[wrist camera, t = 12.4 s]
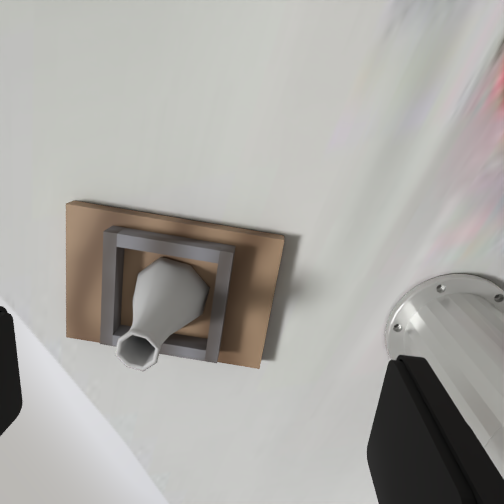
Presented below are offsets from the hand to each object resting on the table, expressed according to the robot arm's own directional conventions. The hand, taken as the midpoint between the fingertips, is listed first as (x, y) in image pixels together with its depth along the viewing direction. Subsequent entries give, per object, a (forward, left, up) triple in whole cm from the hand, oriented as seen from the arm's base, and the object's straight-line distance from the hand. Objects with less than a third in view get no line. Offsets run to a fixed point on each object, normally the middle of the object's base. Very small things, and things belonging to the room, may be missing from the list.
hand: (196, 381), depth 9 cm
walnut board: (+6, +11, -27) cm, 30 cm away
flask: (+6, +11, -26) cm, 28 cm away
